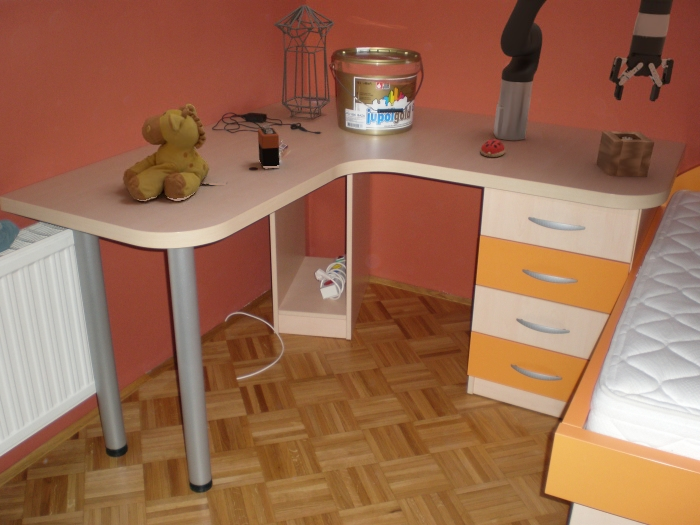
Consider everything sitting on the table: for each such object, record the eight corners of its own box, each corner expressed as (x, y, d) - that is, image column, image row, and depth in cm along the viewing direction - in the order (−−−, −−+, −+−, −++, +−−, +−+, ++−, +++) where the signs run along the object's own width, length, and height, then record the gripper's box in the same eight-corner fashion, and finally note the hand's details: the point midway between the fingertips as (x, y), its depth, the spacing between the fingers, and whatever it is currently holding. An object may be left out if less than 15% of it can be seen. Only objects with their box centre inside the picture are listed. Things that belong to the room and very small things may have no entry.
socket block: (607, 175, 170) (614, 141, 166) (596, 163, 179) (602, 131, 175) (646, 176, 170) (654, 142, 166) (633, 164, 179) (640, 132, 175)
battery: (275, 161, 176) (273, 124, 172) (280, 168, 170) (278, 130, 166) (258, 162, 175) (257, 125, 171) (263, 170, 169) (261, 131, 165)
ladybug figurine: (506, 150, 190) (507, 138, 188) (501, 160, 181) (503, 147, 180) (483, 148, 191) (484, 136, 190) (477, 157, 183) (478, 145, 182)
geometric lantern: (336, 113, 225) (336, 4, 210) (317, 124, 212) (316, 8, 197) (294, 109, 230) (292, 1, 215) (273, 119, 217) (269, 5, 202)
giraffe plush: (119, 181, 160) (108, 102, 152) (215, 169, 169) (209, 94, 161) (132, 209, 144) (120, 122, 135) (237, 195, 153) (232, 113, 144)
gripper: (673, 32, 162) (657, 98, 170) (615, 30, 163) (602, 96, 170) (685, 36, 156) (669, 104, 163) (625, 34, 156) (611, 102, 163)
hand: (634, 100), depth 166 cm, fingers open, 8 cm apart
